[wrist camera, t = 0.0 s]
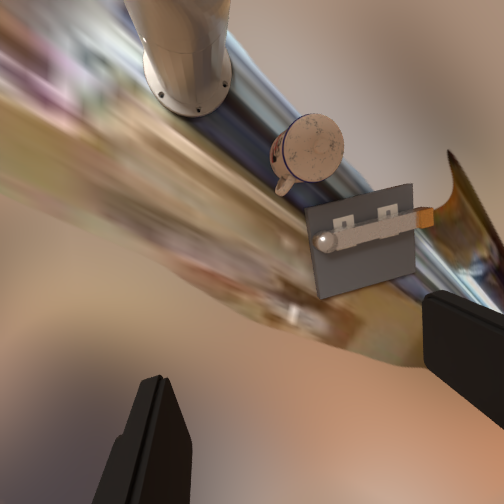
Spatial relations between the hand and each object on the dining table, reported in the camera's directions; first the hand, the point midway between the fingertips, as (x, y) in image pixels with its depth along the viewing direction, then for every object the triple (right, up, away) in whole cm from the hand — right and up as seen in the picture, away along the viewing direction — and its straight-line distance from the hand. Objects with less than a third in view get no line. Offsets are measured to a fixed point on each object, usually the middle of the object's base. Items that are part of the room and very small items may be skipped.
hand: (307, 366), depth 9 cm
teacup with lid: (+4, +19, +35) cm, 40 cm away
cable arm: (+19, +8, +37) cm, 43 cm away
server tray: (+19, +6, +40) cm, 45 cm away
